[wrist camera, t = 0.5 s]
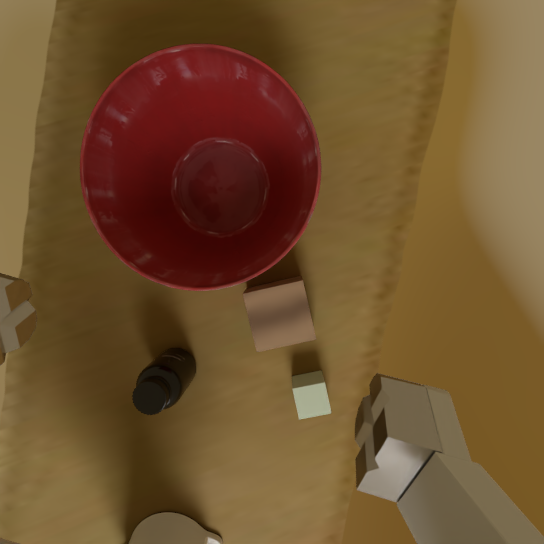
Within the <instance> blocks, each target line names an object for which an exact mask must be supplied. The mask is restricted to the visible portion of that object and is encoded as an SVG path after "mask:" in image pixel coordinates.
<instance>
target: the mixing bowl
mask: <svg viewBox="0 0 544 544" xmlns="http://www.w3.org/2000/svg"><path fill="white" fill-rule="evenodd" d="M80 180H81V187H82V193H83V197H84V201H85V204H86V208H87V210H88V213H89V215H90V218H91V220H92V222H93V224H94V226H95V228H96V230H97V232H98V233H99V235H100V236H101V238H102V239H103V241H104V242H105V243H106V245H107V246H108V247H109V249H110V250H111V251H112V252H113V253H114V254H115V255H116V256H117V257H118V258H119V259H120V260H121V261H122V262H123V263H124V264H126V265H127V266H128V267H130V268H131V269H132V270H134V271H135V272H137V273H138V274H140V275H142V276H143V277H145V278H147V279H149V280H152V281H154V282H156V283H159V284H162V285H165V286H168V287H172V288H177V289H182V290H193V291H206V290H216V289H222V288H227V287H231V286H234V285H237V284H240V283H243V282H246V281H248V280H250V279H252V278H254V277H256V276H258V275H260V274H261V273H263V272H265V271H266V270H268V269H269V268H271V267H272V266H273V265H275V264H276V263H277V262H278V261H280V260H281V259H282V258H283V257H284V256H285V255H286V254H287V253H288V252H289V251H290V250H291V248H292V247H293V246H294V245H295V244H296V242H297V241H298V240H299V238H300V237H301V235H302V234H303V232H304V230H305V229H306V227H307V225H308V223H309V221H310V218H311V216H312V214H313V211H314V208H315V205H316V202H317V198H318V194H319V189H320V181H321V156H320V148H319V142H318V138H317V134H316V131H315V128H314V125H313V123H312V120H311V118H310V115H309V113H308V111H307V110H306V108H305V106H304V104H303V102H302V101H301V99H300V98H299V96H298V95H297V94H296V92H295V91H294V90H293V88H292V87H291V86H290V85H289V84H288V83H287V81H286V80H285V79H284V78H282V77H281V76H280V75H279V74H278V73H277V72H276V71H274V70H273V69H272V68H270V67H269V66H268V65H266V64H265V63H263V62H262V61H260V60H258V59H257V58H255V57H253V56H251V55H249V54H247V53H244V52H242V51H239V50H236V49H233V48H229V47H225V46H221V45H215V44H184V45H178V46H173V47H169V48H166V49H162V50H159V51H157V52H154V53H152V54H150V55H148V56H146V57H144V58H142V59H140V60H139V61H137V62H136V63H134V64H132V65H131V66H130V67H128V68H127V69H126V70H124V71H123V72H122V73H121V74H120V75H119V76H118V77H116V79H115V80H114V81H113V82H112V83H111V84H110V85H109V86H108V88H107V89H106V90H105V91H104V92H103V94H102V95H101V97H100V98H99V100H98V102H97V103H96V105H95V107H94V109H93V111H92V113H91V115H90V118H89V120H88V123H87V126H86V129H85V132H84V136H83V141H82V146H81V155H80Z"/></svg>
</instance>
